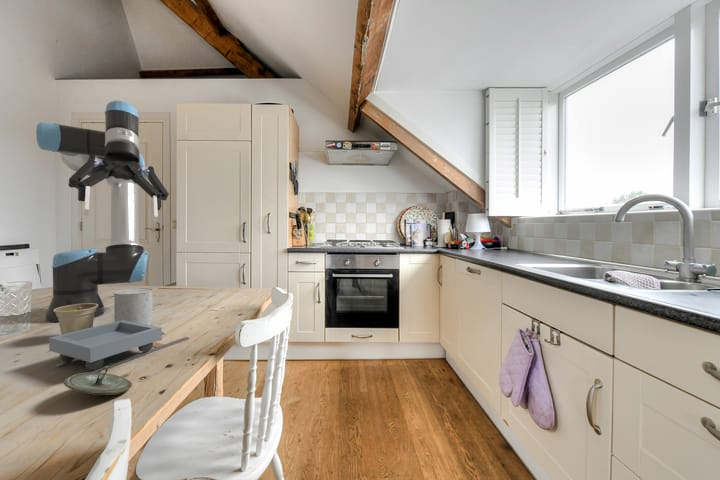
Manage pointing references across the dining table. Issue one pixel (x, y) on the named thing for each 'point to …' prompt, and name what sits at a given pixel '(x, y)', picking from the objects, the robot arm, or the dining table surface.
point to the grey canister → (134, 305)
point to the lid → (97, 383)
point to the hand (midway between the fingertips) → (122, 216)
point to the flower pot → (75, 317)
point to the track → (157, 345)
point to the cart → (104, 342)
